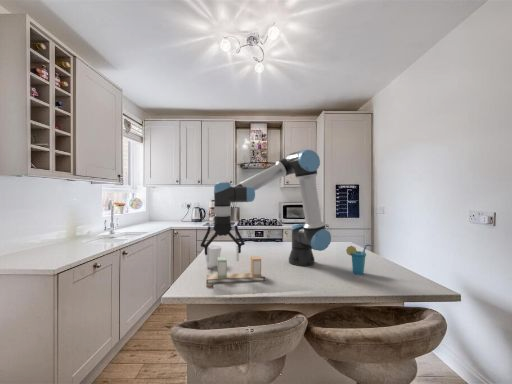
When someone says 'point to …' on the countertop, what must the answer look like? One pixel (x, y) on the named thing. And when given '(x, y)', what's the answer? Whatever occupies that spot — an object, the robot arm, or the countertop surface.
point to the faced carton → (255, 266)
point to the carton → (222, 268)
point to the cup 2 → (357, 259)
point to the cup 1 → (213, 255)
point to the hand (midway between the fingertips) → (223, 261)
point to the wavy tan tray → (232, 278)
